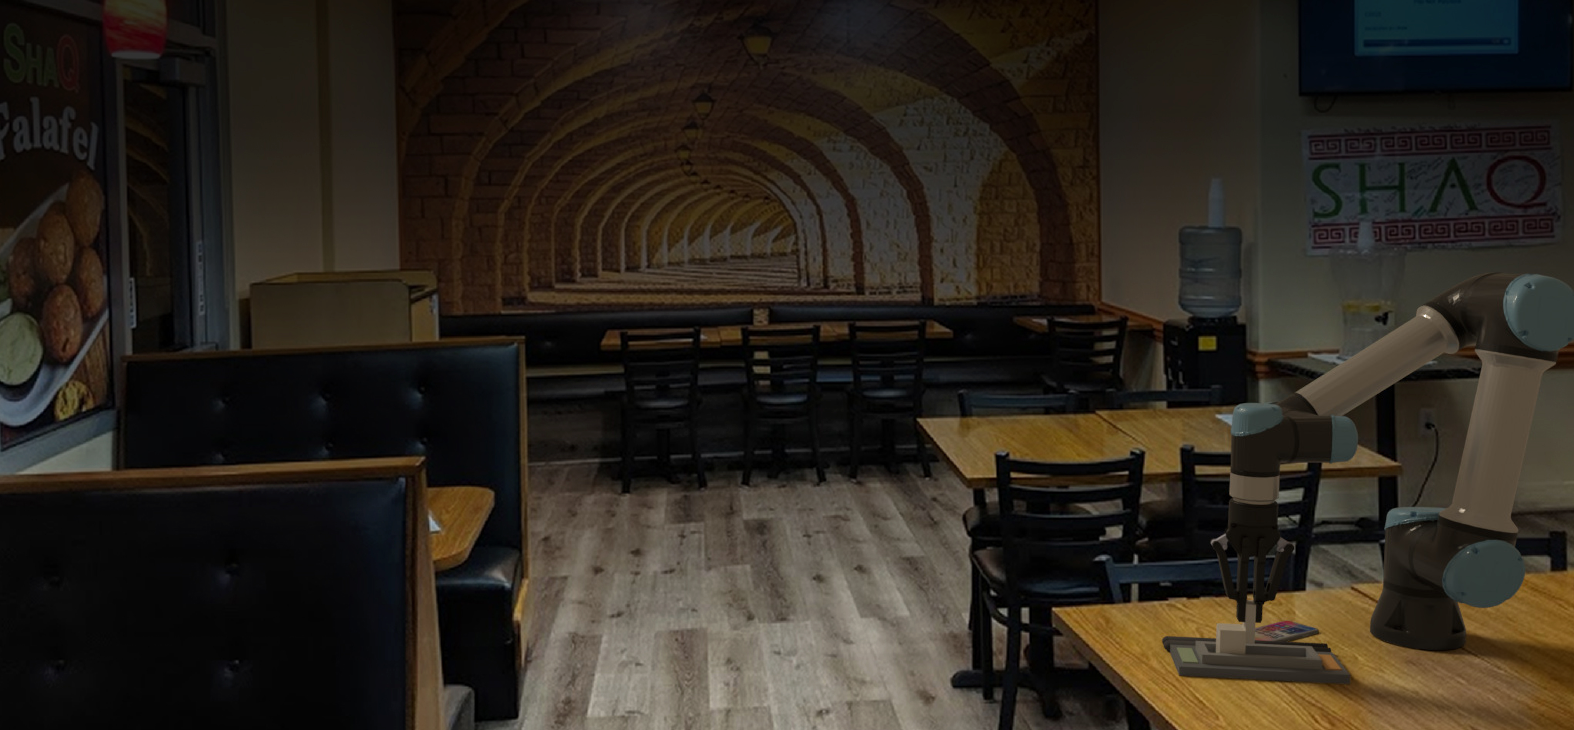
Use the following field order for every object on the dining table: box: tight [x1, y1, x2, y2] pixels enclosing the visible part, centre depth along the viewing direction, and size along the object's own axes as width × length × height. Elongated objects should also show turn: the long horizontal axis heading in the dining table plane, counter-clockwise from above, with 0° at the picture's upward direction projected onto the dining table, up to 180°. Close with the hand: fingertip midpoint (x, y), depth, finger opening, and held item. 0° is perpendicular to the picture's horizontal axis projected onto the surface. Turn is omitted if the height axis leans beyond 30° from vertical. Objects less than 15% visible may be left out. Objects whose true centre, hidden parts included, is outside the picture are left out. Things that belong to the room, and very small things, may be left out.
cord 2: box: [1163, 640, 1332, 652], centre depth 215 cm, size 27×2×2 cm, turn 81°
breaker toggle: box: [1215, 623, 1246, 654], centre depth 208 cm, size 4×4×5 cm
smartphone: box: [1255, 620, 1320, 642], centre depth 226 cm, size 7×1×15 cm
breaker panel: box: [1169, 641, 1351, 685], centre depth 208 cm, size 26×11×3 cm, turn 81°
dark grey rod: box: [1161, 635, 1329, 648], centre depth 217 cm, size 27×2×2 cm, turn 81°
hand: (1248, 640), depth 208 cm, fingers closed
